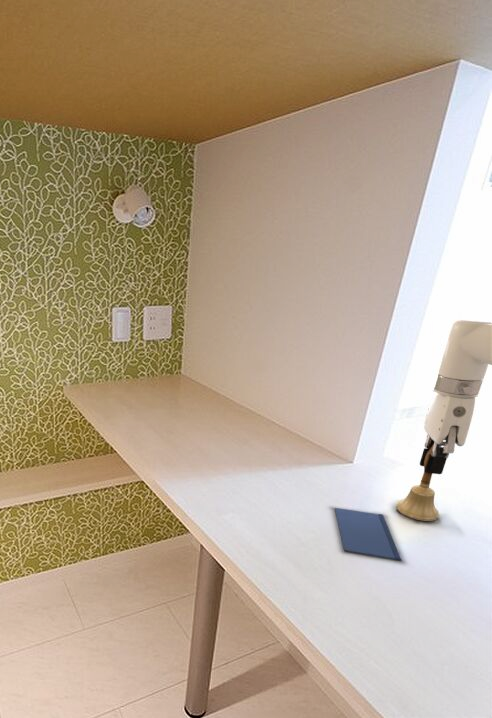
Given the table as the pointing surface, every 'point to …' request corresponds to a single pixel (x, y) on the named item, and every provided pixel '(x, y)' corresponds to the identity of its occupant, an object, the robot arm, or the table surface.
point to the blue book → (366, 534)
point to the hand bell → (420, 499)
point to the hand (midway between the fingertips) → (430, 468)
